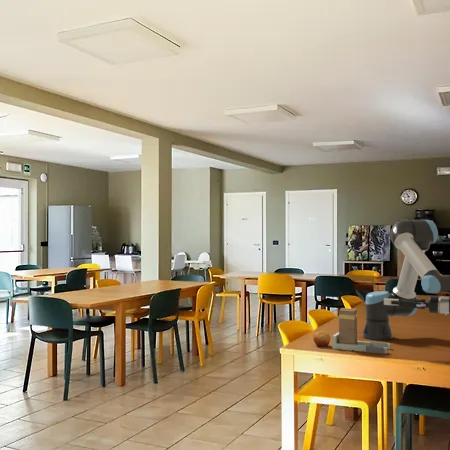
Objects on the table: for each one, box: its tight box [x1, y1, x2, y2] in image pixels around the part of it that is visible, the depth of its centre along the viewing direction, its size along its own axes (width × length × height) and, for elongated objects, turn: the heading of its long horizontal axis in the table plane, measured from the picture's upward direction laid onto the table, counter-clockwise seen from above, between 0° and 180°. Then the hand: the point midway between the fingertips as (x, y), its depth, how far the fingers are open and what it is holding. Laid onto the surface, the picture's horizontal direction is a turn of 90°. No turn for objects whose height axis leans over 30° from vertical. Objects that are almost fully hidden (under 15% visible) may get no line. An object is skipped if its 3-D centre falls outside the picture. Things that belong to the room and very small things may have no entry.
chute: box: [332, 331, 391, 355], centre depth 258 cm, size 13×24×6 cm, turn 65°
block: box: [338, 308, 358, 345], centre depth 261 cm, size 7×7×18 cm
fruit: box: [313, 330, 331, 347], centre depth 265 cm, size 8×8×8 cm
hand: (384, 301), depth 254 cm, fingers closed
